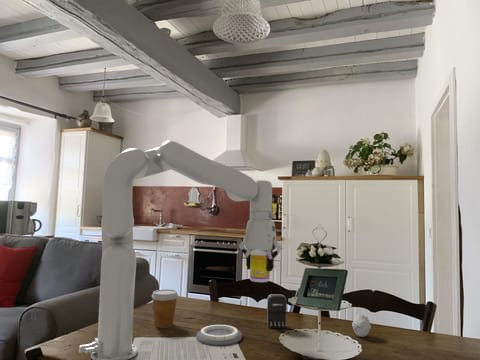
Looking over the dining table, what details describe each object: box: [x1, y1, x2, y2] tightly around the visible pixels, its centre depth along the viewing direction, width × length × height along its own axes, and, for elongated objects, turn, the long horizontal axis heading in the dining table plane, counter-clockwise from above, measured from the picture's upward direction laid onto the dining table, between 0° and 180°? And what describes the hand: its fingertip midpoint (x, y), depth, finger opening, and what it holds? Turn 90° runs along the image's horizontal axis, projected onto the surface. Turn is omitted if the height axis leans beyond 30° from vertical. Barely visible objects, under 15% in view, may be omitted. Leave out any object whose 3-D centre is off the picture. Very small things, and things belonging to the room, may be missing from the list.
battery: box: [266, 294, 288, 329], centre depth 129 cm, size 7×4×11 cm, turn 89°
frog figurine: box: [351, 313, 372, 338], centre depth 121 cm, size 6×7×7 cm
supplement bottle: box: [249, 245, 271, 283], centre depth 120 cm, size 7×7×13 cm
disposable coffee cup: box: [151, 288, 179, 329], centre depth 129 cm, size 10×10×12 cm
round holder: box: [196, 324, 243, 347], centre depth 117 cm, size 15×15×2 cm
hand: (259, 269), depth 119 cm, fingers closed on supplement bottle, 6 cm apart
